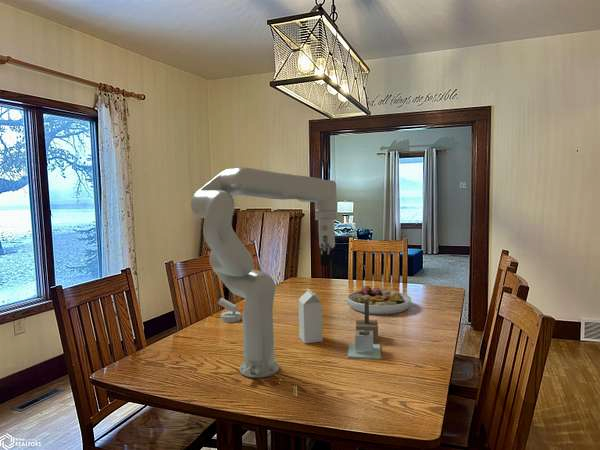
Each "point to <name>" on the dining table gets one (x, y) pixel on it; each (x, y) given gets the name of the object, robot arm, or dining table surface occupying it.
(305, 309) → the milk carton
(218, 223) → the robot arm
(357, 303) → the bowl
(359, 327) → the post
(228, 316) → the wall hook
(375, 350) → the mat
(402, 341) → the dining table surface
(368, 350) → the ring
